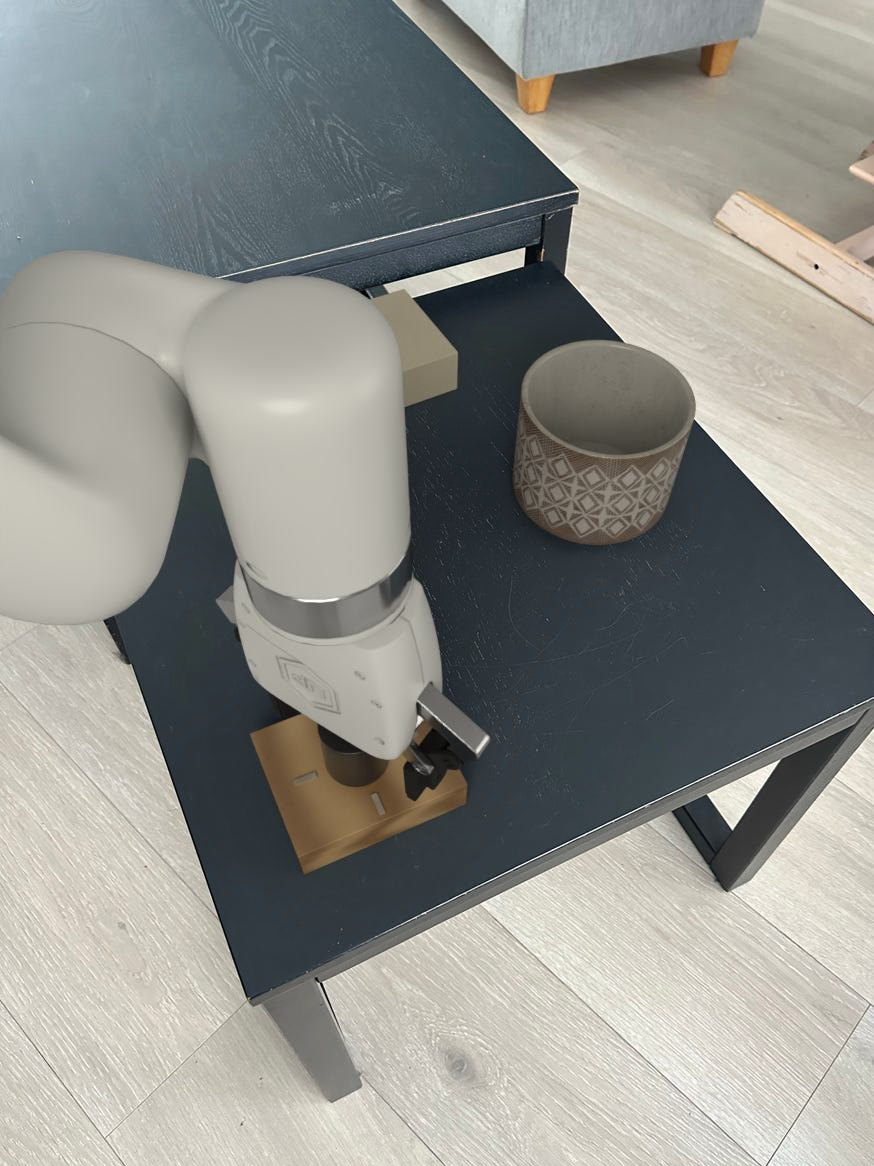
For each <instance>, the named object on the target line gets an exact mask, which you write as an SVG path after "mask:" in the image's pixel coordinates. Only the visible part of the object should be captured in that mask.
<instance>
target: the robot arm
mask: <svg viewBox="0 0 874 1166" xmlns="http://www.w3.org/2000/svg"><path fill="white" fill-rule="evenodd" d="M405 409H406V408H405V407H404V390H403V372H402V364H401V355H400V348H399V345H398V342H397V338H396V335H395V333H394V331H393V329H392V328H391V326H390V324H389V322H388V320H387V318H386V317H385V315H384V314H383V313H382V312H381V311H380V310H379V309H378V307H377V306H376V305H375V304H374V303H372V302H371V301H370V298H368V297H366V295H363V294H362V293H361V292H360V291H357V290H356V289H353V288H351V287H349V286H347V285H345V284H342V283H339V282H336V281H334V280H330V279H325V278H320V277H317V276H307V275H280V276H273V277H267V278H262V279H258V280H254V281H251V282H246V283H245V282H240V281H234V280H229V279H223V278H219V277H213V276H209V275H206V274H201V273H197V272H192V271H189V270H184V269H179V268H177V267H171V266H168V265H164V264H159V263H156V262H152V261H148V260H143V259H141V258H140V259H139V258H136V257H131V256H127V255H121V254H115V253H110V252H106V251H105V252H104V251H96V250H87V249H85V250H79V249H78V250H62V251H57V252H52V253H48V254H45V255H42V256H40V257H38V258H36V259H33V260H31V261H30V262H29V263H27V264H26V265H25V266H23V267H22V269H20V270H19V271H18V272H17V274H16V275H14V277H13V278H12V279H11V280H10V282H9V283H8V285H7V286H6V288H5V289H4V291H3V293H2V295H1V297H0V616H2V617H5V618H9V619H13V620H16V621H20V622H21V621H22V622H25V623H32V624H37V625H45V626H81V625H86V624H92V623H97V622H98V623H99V622H102V621H104V620H107V619H109V618H111V617H114V616H117V615H119V614H121V613H123V612H124V611H126V610H127V609H129V608H130V607H131V606H132V605H133V604H134V603H136V602H138V600H140V599H142V597H143V596H145V594H146V592H147V591H148V590H149V588H150V587H151V585H152V584H153V582H154V581H155V579H156V578H157V577H158V574H159V572H160V571H161V568H162V567H163V564H164V561H165V557H166V554H167V551H168V547H169V543H170V540H171V536H172V532H173V529H174V525H175V522H176V517H177V513H178V510H179V505H180V501H181V496H182V492H183V487H184V483H185V479H186V476H187V475H186V473H187V470H188V466H189V462H190V459H198V460H201V461H203V462H204V464H206V465H207V466H208V467H209V471H210V475H211V477H212V481H213V484H214V487H215V490H216V494H217V497H218V501H219V505H220V506H221V510H222V514H223V516H224V520H225V523H226V526H227V530H228V532H229V536H230V540H231V542H232V545H233V549H234V551H235V555H236V561H235V565H234V575H233V584H229V586H228V587H226V589H224V590H223V591H222V593H220V595H219V596H217V597H216V598H215V603H216V605H217V607H218V608H219V609H220V610H221V612H222V613H223V615H224V616H225V617H226V619H227V620H228V621H229V623H230V624H233V625H234V626H235V628H234V629H233V633H234V635H235V636H234V638H235V639H236V640H237V641H238V642H239V643H240V644H241V646H242V650H243V653H244V657H245V660H246V663H247V666H248V668H249V671H250V672H251V675H252V678H253V679H254V680H255V681H256V682H257V683H258V685H260V686H261V687H262V688H263V689H265V690H266V691H267V693H268V696H269V700H270V703H271V706H272V709H273V713H274V714H275V715H276V716H277V717H280V718H281V719H289V718H290V716H291V715H293V713H294V711H298V712H299V713H300V714H304V715H306V716H307V717H309V718H310V719H312V720H314V721H315V722H317V723H318V724H320V725H322V726H323V727H325V728H326V729H328V730H330V731H331V732H333V733H335V734H336V735H338V736H340V737H341V738H343V739H344V740H346V741H348V742H349V743H351V744H353V745H354V746H356V747H358V748H360V749H361V750H363V751H365V752H367V753H368V754H370V755H372V756H375V757H377V758H381V759H386V760H393V759H397V758H398V757H399V756H400V755H401V754H403V756H404V757H405V758H406V759H407V761H406V763H405V764H404V766H403V774H404V784H405V793H406V794H407V797H408V798H409V799H411V800H413V801H414V802H415V801H416V800H417V799H418V798H419V797H420V795H421V794H422V793H423V791H424V790H425V789H426V787H428V788H430V789H431V790H434V789H435V788H436V787H437V786H438V785H439V783H440V782H441V781H442V779H443V778H444V776H445V774H446V772H447V770H458V769H460V768H461V767H462V766H463V765H468V764H471V763H473V762H475V761H478V760H479V759H480V757H481V756H482V754H484V752H485V750H486V749H487V748H488V746H489V745H490V743H492V738H491V737H490V736H489V734H488V733H486V731H484V729H482V728H481V727H480V726H479V725H478V724H477V723H476V722H474V721H473V720H472V719H471V718H470V717H469V716H468V715H467V714H465V713H464V711H462V710H461V709H460V708H459V707H457V706H456V705H455V704H454V703H453V702H452V701H451V700H450V699H449V698H448V697H446V696H445V695H444V694H443V667H442V657H441V652H440V651H441V650H440V645H439V639H438V634H437V630H436V626H435V622H434V618H433V614H432V611H431V607H430V604H429V601H428V599H427V596H426V593H425V590H424V588H423V585H422V584H421V582H420V581H418V579H416V577H415V576H414V561H413V544H412V542H413V541H412V527H411V508H410V507H411V506H410V505H411V504H410V491H409V466H408V447H407V428H406V427H407V426H406V412H405V411H406V410H405ZM423 721H424V722H425V724H426V725H427V726H428V727H429V729H430V731H429V733H428V734H427V735H426V736H425V738H424V739H423V740H422V742H421V743H420V744H419V745H418V744H417V743H416V742H415V741H414V739H413V735H414V733H415V731H416V730H417V729H418V728H419V726H420V725H421V724H422V723H423Z"/></svg>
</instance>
